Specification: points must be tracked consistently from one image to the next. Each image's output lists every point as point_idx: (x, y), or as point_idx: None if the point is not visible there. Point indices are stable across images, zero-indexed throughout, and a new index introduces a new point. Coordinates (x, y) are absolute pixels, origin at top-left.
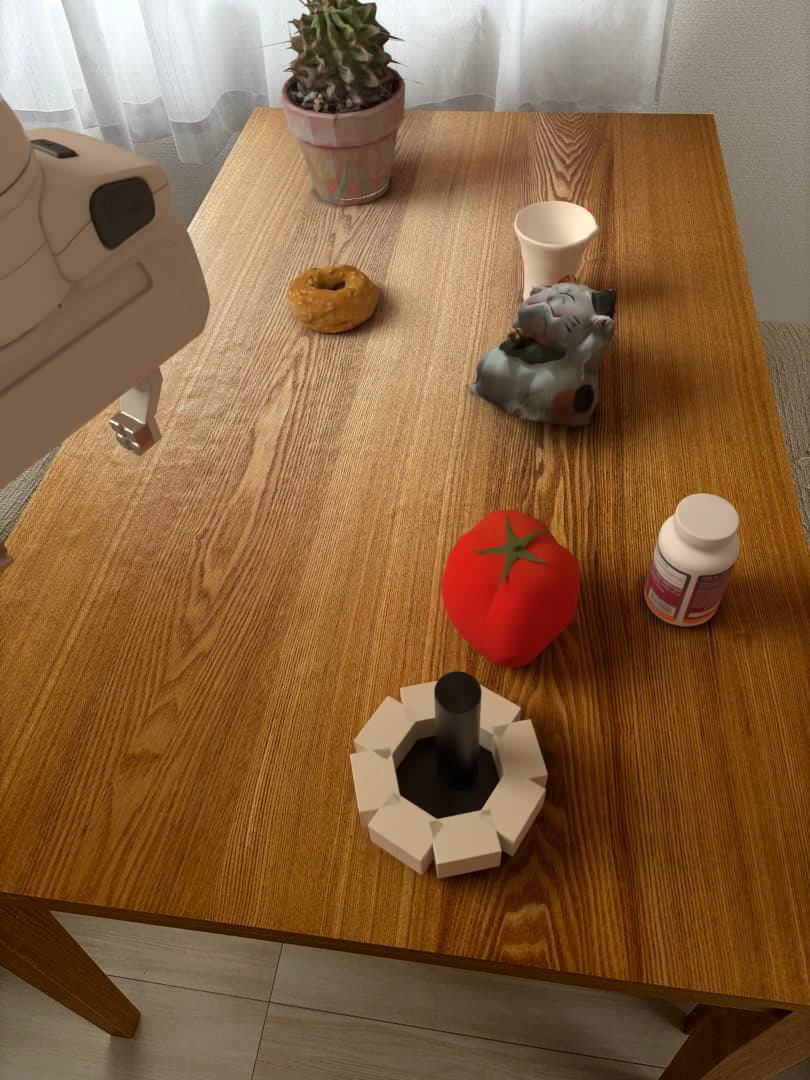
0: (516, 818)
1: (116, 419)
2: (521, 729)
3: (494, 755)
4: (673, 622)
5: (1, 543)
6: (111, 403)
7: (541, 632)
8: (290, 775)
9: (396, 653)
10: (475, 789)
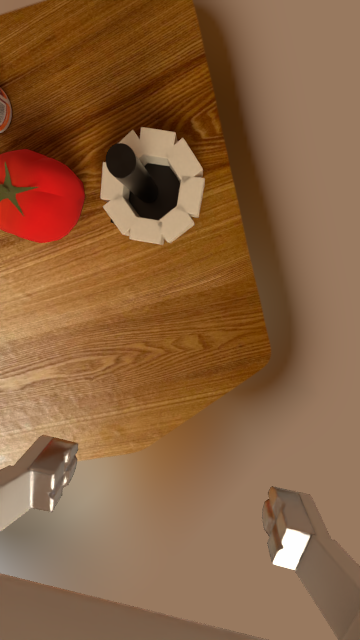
0: (163, 136)
1: (45, 504)
2: None
3: None
4: (9, 106)
5: (288, 525)
6: (11, 579)
7: (54, 160)
8: (182, 273)
9: (102, 255)
10: (153, 177)
